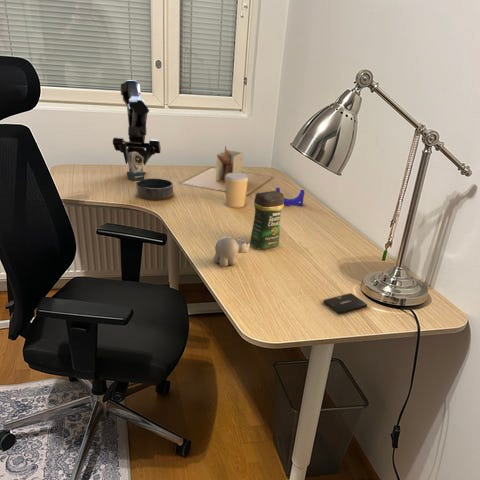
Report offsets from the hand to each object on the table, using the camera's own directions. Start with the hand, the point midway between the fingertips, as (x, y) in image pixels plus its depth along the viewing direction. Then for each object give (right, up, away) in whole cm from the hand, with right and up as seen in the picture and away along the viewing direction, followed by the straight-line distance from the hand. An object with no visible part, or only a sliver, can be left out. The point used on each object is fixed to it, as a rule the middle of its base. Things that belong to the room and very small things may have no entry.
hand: (135, 164), depth 188 cm
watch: (-1, -5, +5) cm, 7 cm away
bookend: (+37, +4, +36) cm, 52 cm away
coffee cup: (+41, -15, +6) cm, 44 cm away
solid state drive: (+72, -59, -61) cm, 111 cm away
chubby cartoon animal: (+40, -45, -42) cm, 74 cm away
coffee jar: (+51, -38, -29) cm, 70 cm away
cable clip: (+64, -14, +11) cm, 66 cm away
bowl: (+6, -10, +10) cm, 15 cm away
